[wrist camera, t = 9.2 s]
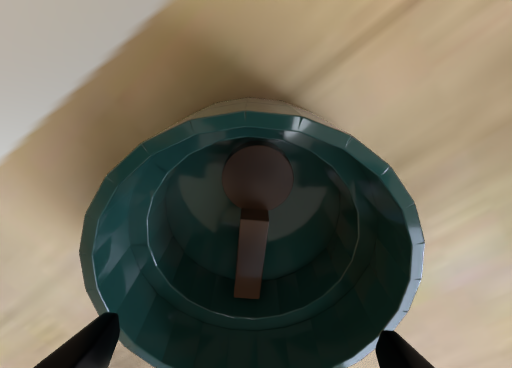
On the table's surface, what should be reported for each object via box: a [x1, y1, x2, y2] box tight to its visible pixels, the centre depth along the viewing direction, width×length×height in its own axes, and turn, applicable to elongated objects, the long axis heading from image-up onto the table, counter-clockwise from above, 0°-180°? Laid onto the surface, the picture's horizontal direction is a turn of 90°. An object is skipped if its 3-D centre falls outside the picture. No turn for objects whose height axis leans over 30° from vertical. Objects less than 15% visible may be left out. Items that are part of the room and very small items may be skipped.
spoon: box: [222, 141, 294, 299], centre depth 15 cm, size 9×4×2 cm, turn 175°
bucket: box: [79, 97, 425, 368], centre depth 13 cm, size 13×13×6 cm
